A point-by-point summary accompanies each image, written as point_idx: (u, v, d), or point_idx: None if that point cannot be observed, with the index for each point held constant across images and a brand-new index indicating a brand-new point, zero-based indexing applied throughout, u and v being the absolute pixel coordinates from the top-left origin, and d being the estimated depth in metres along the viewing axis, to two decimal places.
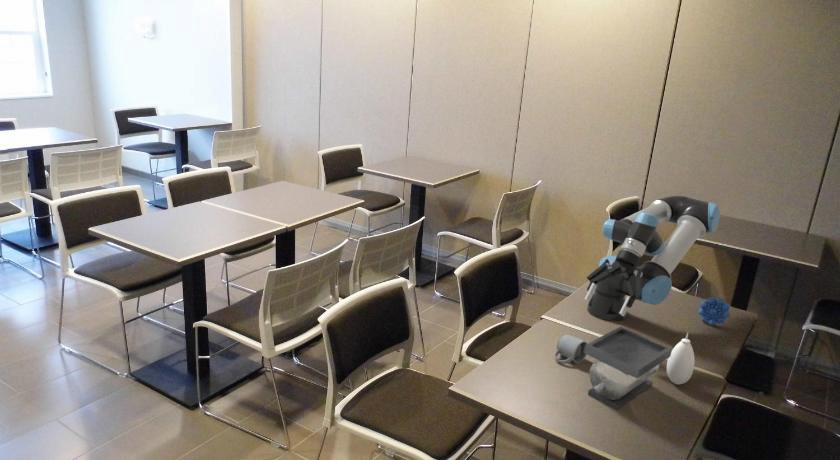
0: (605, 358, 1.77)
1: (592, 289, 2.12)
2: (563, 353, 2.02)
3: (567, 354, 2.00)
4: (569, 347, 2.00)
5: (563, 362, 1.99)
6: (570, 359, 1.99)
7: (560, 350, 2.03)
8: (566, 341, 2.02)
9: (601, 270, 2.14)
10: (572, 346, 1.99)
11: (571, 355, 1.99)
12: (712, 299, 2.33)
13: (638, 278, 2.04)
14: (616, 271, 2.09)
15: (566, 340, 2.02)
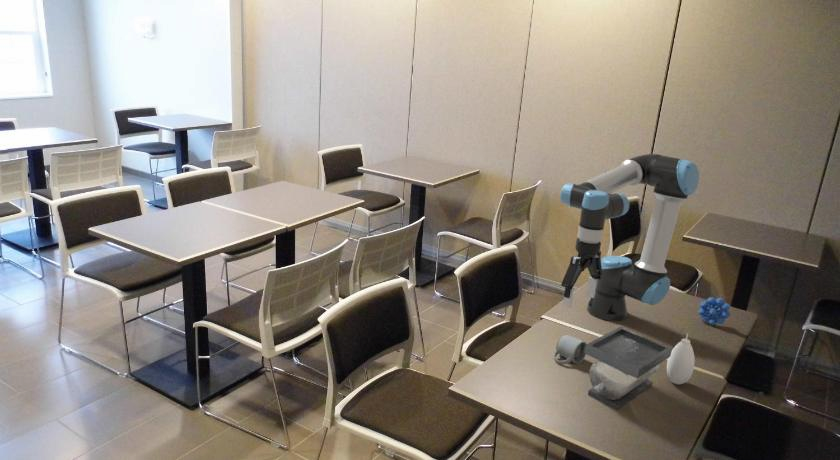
0: (605, 358, 1.77)
1: (589, 283, 2.00)
2: (562, 353, 2.02)
3: (566, 354, 2.00)
4: (568, 347, 1.99)
5: (562, 362, 1.99)
6: (569, 359, 1.99)
7: (559, 350, 2.02)
8: (565, 341, 2.01)
9: (594, 262, 1.98)
10: (572, 346, 1.99)
11: (570, 355, 1.99)
12: (712, 299, 2.33)
13: None
14: None
15: (565, 340, 2.02)
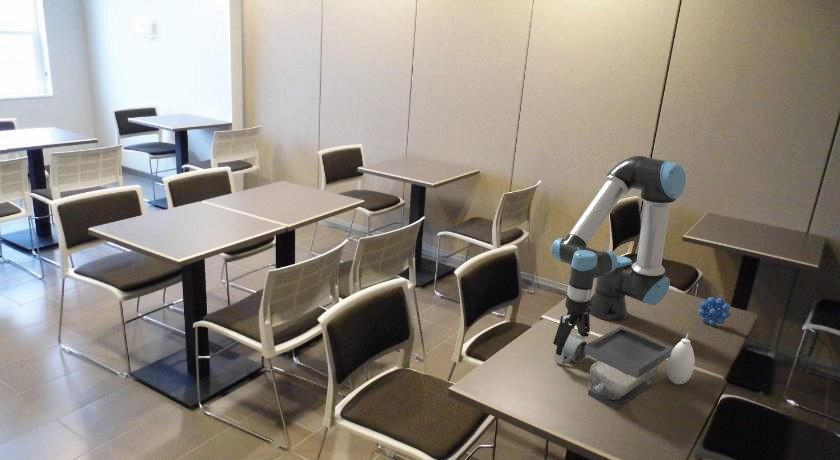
0: (605, 358, 1.77)
1: None
2: None
3: (567, 354, 2.00)
4: (569, 347, 2.00)
5: (563, 362, 1.99)
6: (570, 359, 1.99)
7: None
8: (566, 341, 2.01)
9: (583, 319, 2.03)
10: (572, 346, 1.99)
11: (571, 355, 1.99)
12: (712, 299, 2.33)
13: None
14: None
15: None
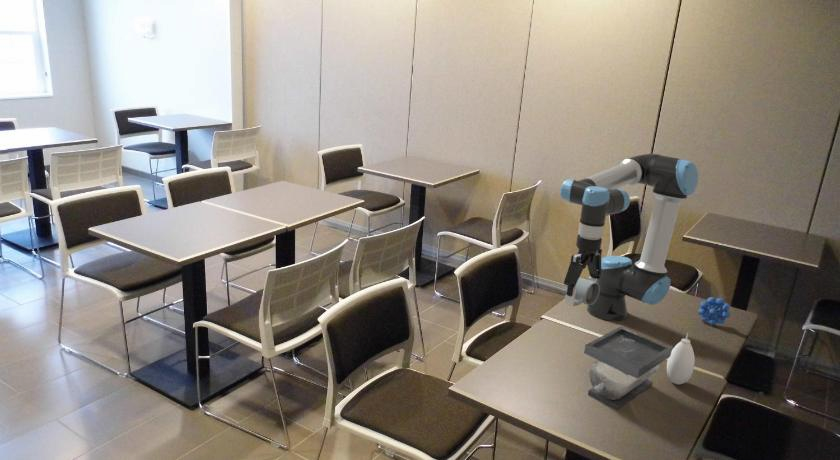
0: (605, 358, 1.77)
1: None
2: None
3: (578, 296, 1.93)
4: (580, 288, 1.93)
5: (574, 304, 1.92)
6: (581, 300, 1.92)
7: None
8: (577, 282, 1.95)
9: None
10: (584, 287, 1.92)
11: (582, 296, 1.92)
12: (712, 299, 2.33)
13: None
14: None
15: (577, 282, 1.95)
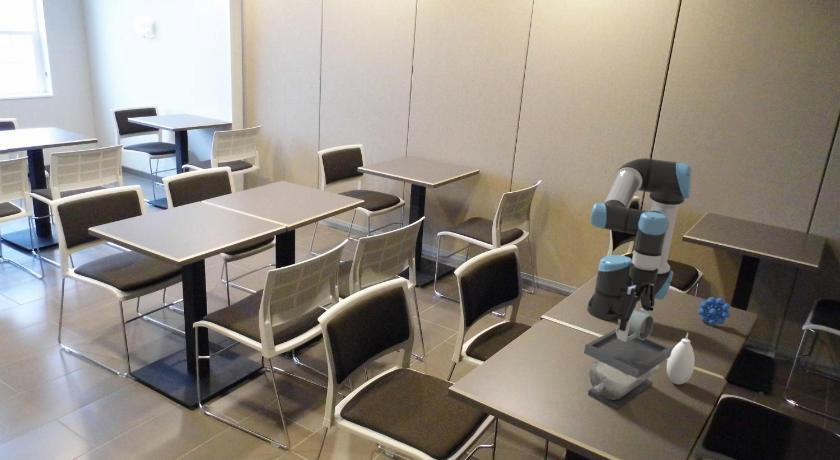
0: (605, 358, 1.77)
1: None
2: None
3: (631, 330, 1.78)
4: (633, 322, 1.78)
5: (627, 339, 1.77)
6: (634, 335, 1.77)
7: None
8: None
9: None
10: (637, 321, 1.77)
11: (636, 331, 1.77)
12: (712, 299, 2.33)
13: None
14: None
15: None
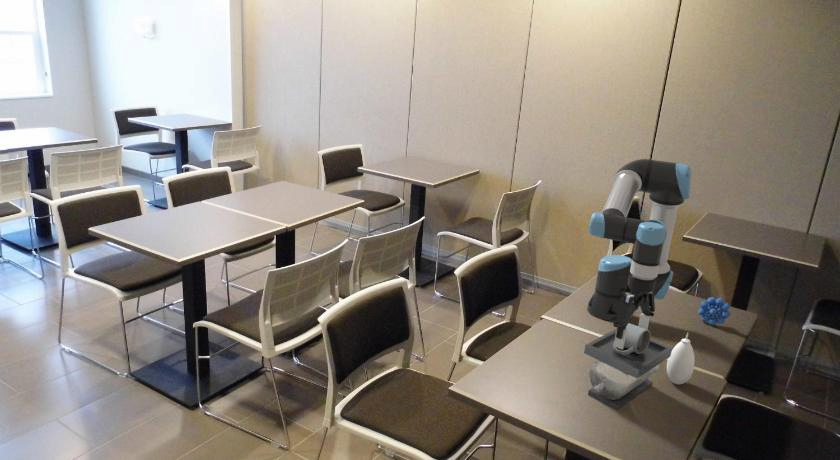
0: (605, 358, 1.77)
1: (641, 321, 1.85)
2: None
3: (628, 344, 1.80)
4: (630, 336, 1.79)
5: (624, 353, 1.78)
6: (632, 349, 1.78)
7: None
8: None
9: None
10: (634, 335, 1.78)
11: (633, 345, 1.78)
12: (712, 299, 2.33)
13: None
14: None
15: (626, 328, 1.81)
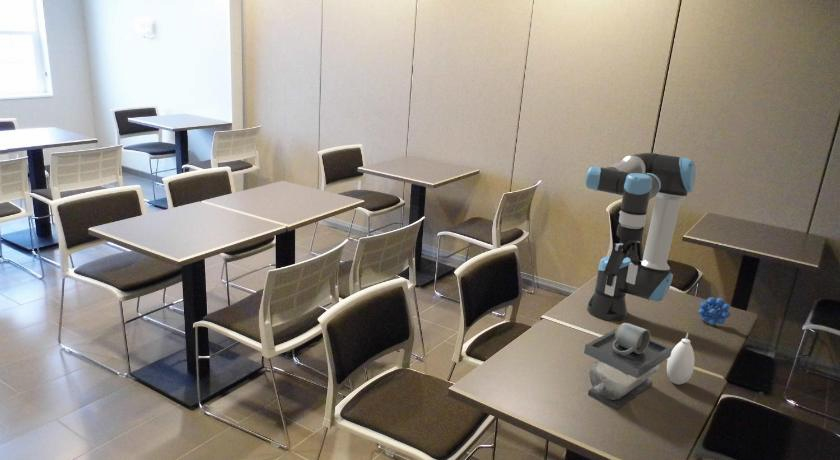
0: (605, 358, 1.77)
1: (630, 270, 1.93)
2: (622, 343, 1.81)
3: (627, 344, 1.80)
4: (630, 336, 1.79)
5: (623, 353, 1.78)
6: (631, 350, 1.78)
7: (619, 340, 1.82)
8: (626, 329, 1.81)
9: None
10: (634, 335, 1.78)
11: (632, 345, 1.78)
12: (712, 299, 2.33)
13: None
14: None
15: (626, 329, 1.81)
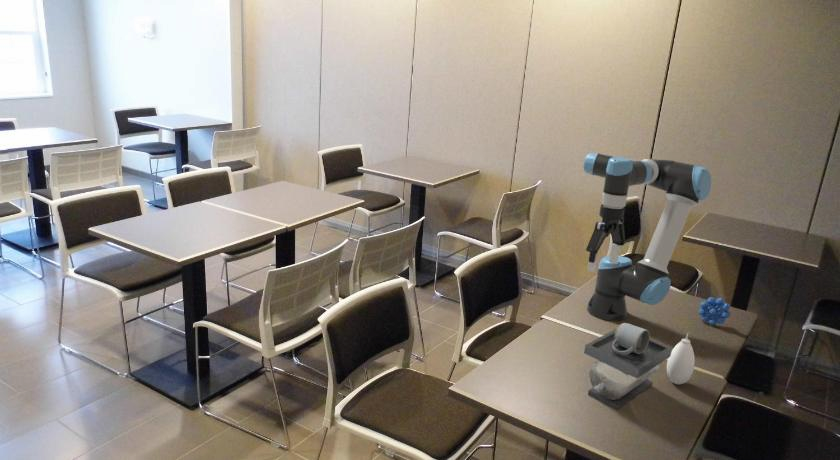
0: (605, 358, 1.77)
1: (613, 250, 2.05)
2: (622, 343, 1.81)
3: (627, 344, 1.80)
4: (629, 336, 1.79)
5: (623, 353, 1.78)
6: (631, 350, 1.78)
7: (618, 340, 1.82)
8: (625, 330, 1.81)
9: None
10: (633, 335, 1.78)
11: (632, 345, 1.78)
12: (712, 299, 2.33)
13: None
14: None
15: (625, 329, 1.81)
